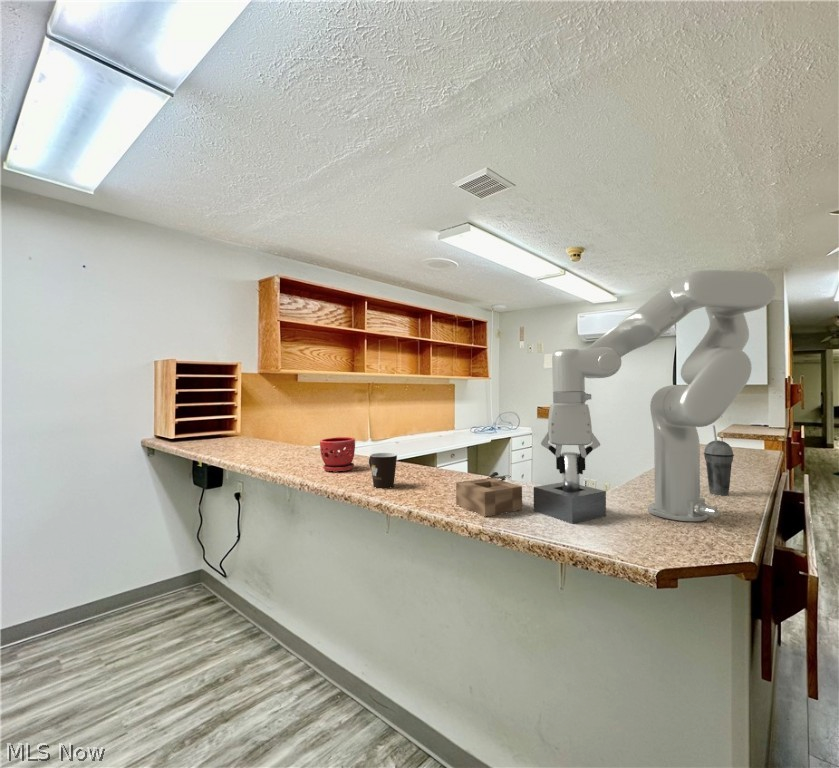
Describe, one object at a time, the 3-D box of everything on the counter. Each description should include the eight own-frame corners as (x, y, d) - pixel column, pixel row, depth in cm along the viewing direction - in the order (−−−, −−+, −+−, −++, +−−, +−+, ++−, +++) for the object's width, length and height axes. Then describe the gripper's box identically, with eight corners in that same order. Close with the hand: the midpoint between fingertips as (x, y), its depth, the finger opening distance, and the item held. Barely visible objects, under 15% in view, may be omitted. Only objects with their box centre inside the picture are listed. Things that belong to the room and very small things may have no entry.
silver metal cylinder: (583, 502, 104) (582, 453, 104) (572, 504, 102) (571, 455, 102) (570, 498, 107) (569, 451, 108) (559, 501, 105) (558, 453, 106)
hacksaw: (493, 475, 153) (493, 471, 153) (521, 477, 148) (521, 473, 148) (471, 489, 131) (471, 484, 131) (504, 493, 127) (504, 488, 127)
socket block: (606, 515, 102) (605, 491, 103) (572, 523, 96) (571, 497, 97) (566, 504, 113) (566, 481, 113) (533, 510, 107) (533, 487, 107)
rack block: (522, 509, 108) (522, 486, 108) (485, 517, 102) (484, 492, 102) (491, 499, 118) (491, 477, 118) (456, 505, 112) (456, 482, 112)
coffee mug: (399, 488, 131) (399, 456, 131) (372, 490, 129) (372, 457, 129) (392, 480, 142) (392, 451, 142) (366, 482, 140) (366, 452, 140)
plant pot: (335, 465, 170) (335, 436, 170) (361, 468, 163) (361, 437, 164) (312, 471, 159) (312, 439, 159) (339, 474, 152) (339, 441, 152)
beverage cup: (740, 497, 119) (739, 426, 119) (711, 496, 120) (711, 426, 121) (725, 491, 126) (725, 424, 127) (699, 490, 127) (698, 424, 128)
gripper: (602, 398, 106) (604, 471, 106) (534, 399, 111) (535, 469, 111) (607, 399, 99) (609, 477, 99) (534, 400, 103) (535, 474, 103)
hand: (570, 472), depth 105 cm, fingers closed on silver metal cylinder, 4 cm apart
